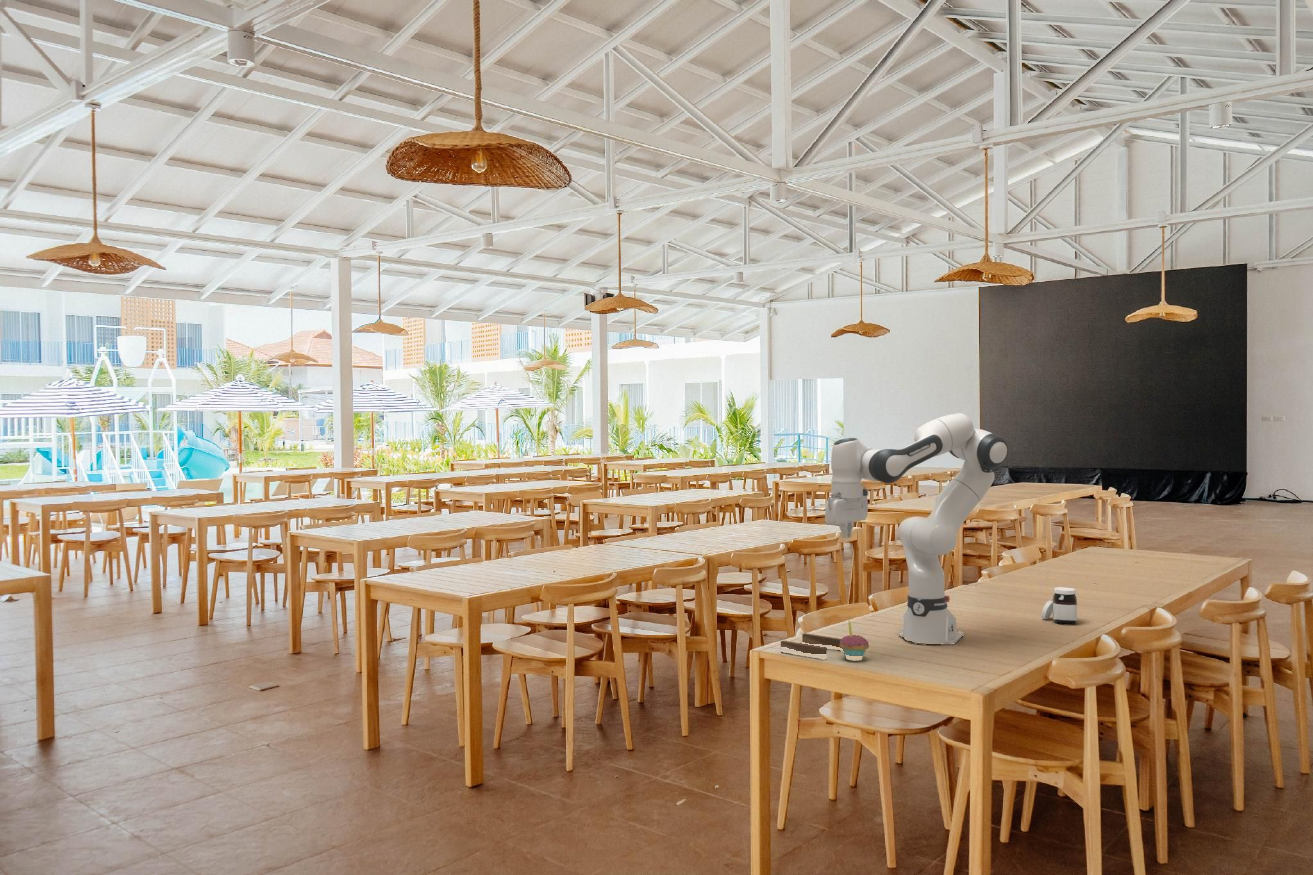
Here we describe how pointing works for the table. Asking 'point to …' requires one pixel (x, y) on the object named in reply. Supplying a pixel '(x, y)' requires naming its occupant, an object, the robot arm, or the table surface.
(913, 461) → the robot arm
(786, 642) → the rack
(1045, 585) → the table surface
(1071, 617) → the spread jar
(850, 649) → the cupcake
